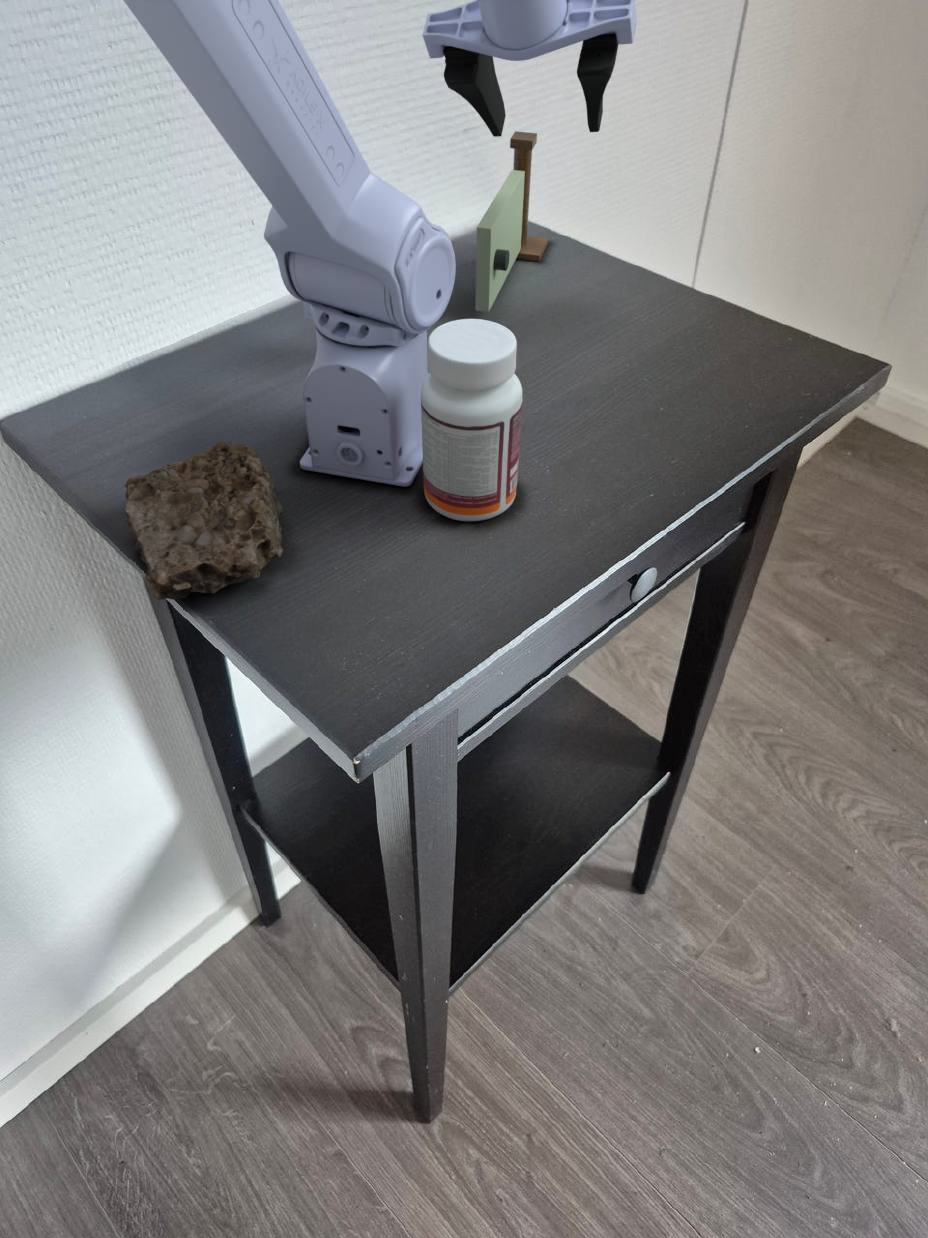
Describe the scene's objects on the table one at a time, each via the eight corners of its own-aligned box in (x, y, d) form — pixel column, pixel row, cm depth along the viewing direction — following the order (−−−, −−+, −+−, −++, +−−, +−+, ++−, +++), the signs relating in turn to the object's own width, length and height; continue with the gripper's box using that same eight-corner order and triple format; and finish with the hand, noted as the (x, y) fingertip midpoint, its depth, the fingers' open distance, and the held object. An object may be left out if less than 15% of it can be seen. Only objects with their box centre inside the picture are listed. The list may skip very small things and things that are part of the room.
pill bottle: (475, 457, 62) (479, 303, 54) (535, 500, 59) (548, 343, 51) (405, 491, 59) (397, 334, 51) (463, 538, 56) (464, 378, 48)
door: (500, 313, 75) (503, 230, 70) (475, 310, 75) (476, 226, 70) (531, 250, 84) (536, 171, 78) (508, 247, 84) (511, 169, 79)
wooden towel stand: (539, 261, 84) (547, 145, 76) (487, 255, 85) (490, 140, 77) (547, 243, 86) (556, 130, 79) (497, 238, 87) (501, 125, 80)
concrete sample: (243, 407, 57) (248, 464, 61) (83, 454, 53) (100, 512, 57) (326, 530, 52) (326, 583, 56) (157, 593, 48) (170, 645, 52)
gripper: (636, -111, 55) (648, 75, 68) (417, -84, 59) (467, 87, 72) (620, -22, 53) (636, 152, 66) (395, -1, 57) (450, 159, 70)
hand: (547, 123), depth 69 cm, fingers open, 7 cm apart
